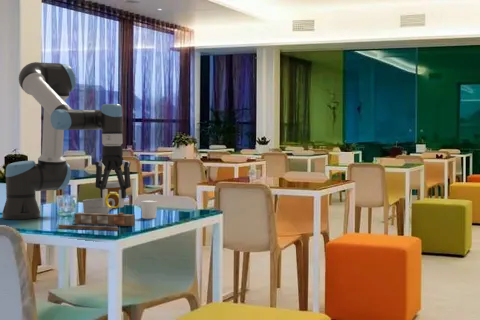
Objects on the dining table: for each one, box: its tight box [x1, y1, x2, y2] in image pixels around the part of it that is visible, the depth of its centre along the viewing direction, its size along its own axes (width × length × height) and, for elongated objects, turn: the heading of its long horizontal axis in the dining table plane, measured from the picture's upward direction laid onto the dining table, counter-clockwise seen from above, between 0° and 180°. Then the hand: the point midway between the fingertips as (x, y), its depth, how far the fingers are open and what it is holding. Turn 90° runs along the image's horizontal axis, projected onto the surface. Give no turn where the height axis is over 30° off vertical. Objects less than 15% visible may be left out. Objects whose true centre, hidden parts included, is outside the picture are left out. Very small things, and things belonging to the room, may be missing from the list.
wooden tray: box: [58, 212, 136, 232], centre depth 270 cm, size 24×15×5 cm, turn 74°
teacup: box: [82, 197, 115, 214], centre depth 295 cm, size 14×11×8 cm
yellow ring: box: [105, 192, 119, 209], centre depth 267 cm, size 6×3×6 cm, turn 73°
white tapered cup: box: [140, 199, 158, 220], centre depth 295 cm, size 7×7×7 cm
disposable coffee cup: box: [106, 181, 121, 210], centre depth 328 cm, size 10×10×12 cm
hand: (113, 206), depth 267 cm, fingers closed on yellow ring, 6 cm apart
